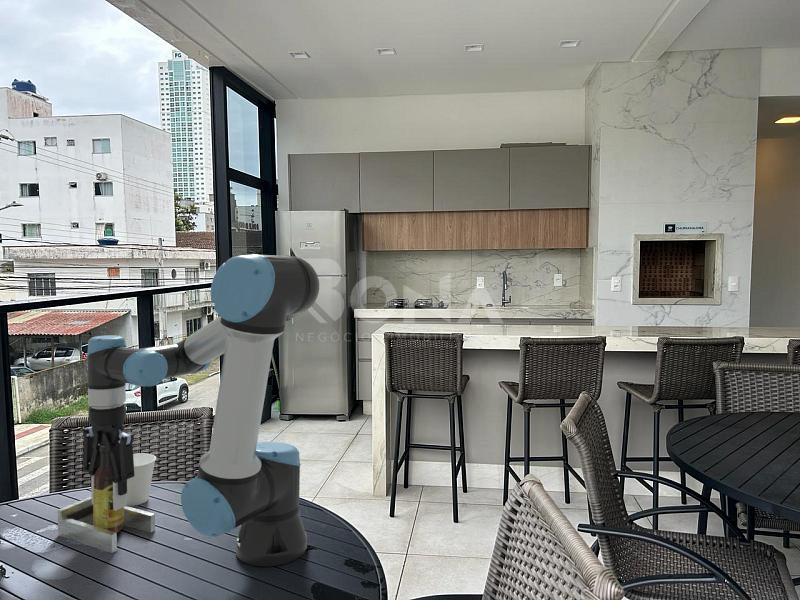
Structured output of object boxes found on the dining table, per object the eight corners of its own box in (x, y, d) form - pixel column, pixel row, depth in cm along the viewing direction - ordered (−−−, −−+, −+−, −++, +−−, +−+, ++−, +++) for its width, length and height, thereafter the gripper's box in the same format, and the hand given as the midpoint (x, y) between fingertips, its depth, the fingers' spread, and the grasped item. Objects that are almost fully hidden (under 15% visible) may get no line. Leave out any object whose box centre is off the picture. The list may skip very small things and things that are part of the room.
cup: (150, 490, 154) (149, 450, 153) (161, 503, 146) (161, 461, 145) (109, 499, 147) (109, 458, 147) (119, 513, 140) (119, 469, 139)
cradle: (155, 530, 131) (154, 505, 131) (112, 553, 121) (111, 526, 121) (103, 515, 138) (102, 491, 138) (58, 535, 128) (57, 509, 128)
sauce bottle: (112, 538, 126) (111, 450, 124) (86, 535, 127) (85, 448, 125) (130, 525, 132) (130, 441, 131) (106, 522, 133) (105, 439, 132)
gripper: (152, 406, 127) (153, 507, 128) (92, 396, 135) (94, 491, 136) (123, 414, 120) (124, 520, 122) (62, 403, 128) (64, 503, 130)
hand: (108, 504), depth 129 cm, fingers closed on sauce bottle, 6 cm apart
